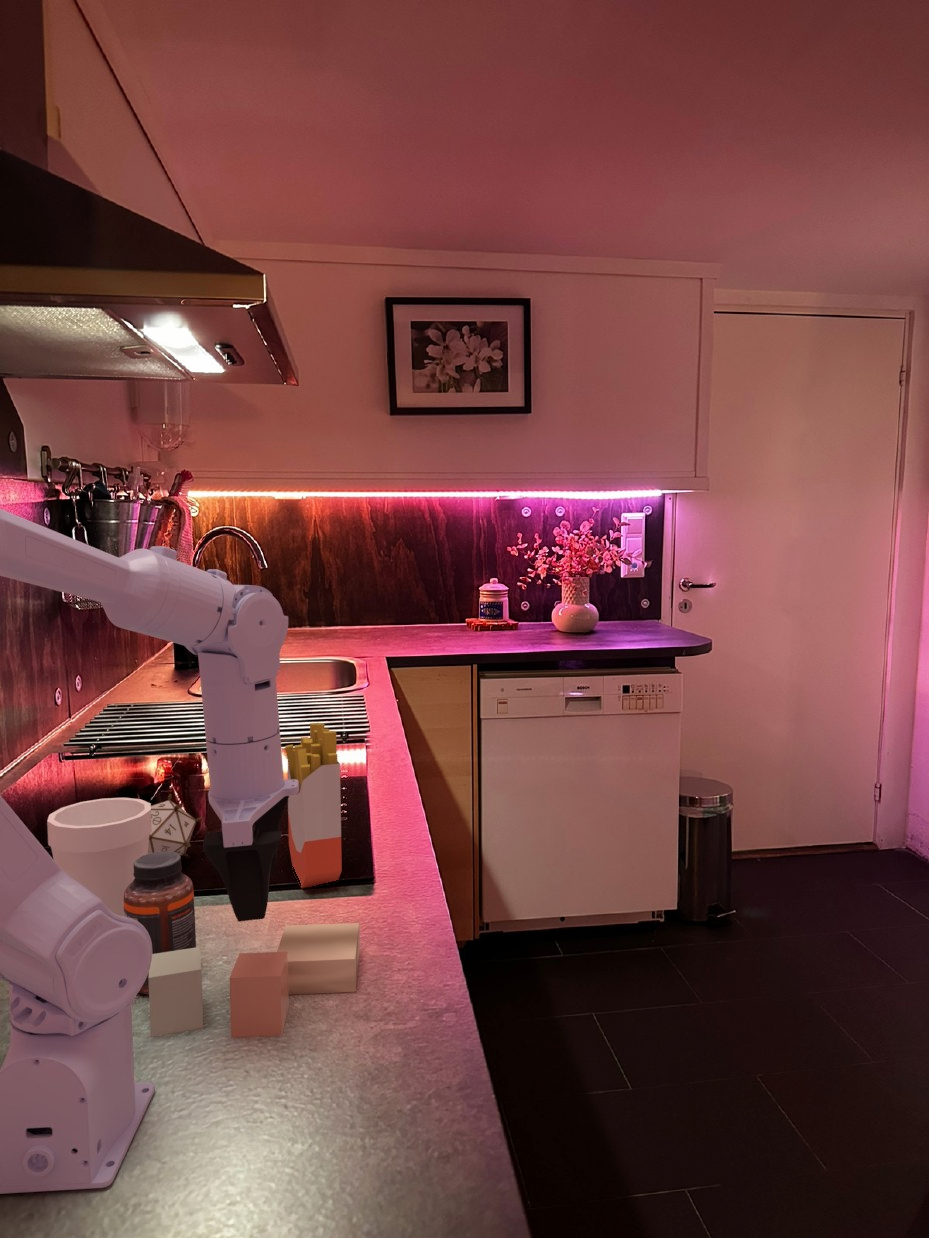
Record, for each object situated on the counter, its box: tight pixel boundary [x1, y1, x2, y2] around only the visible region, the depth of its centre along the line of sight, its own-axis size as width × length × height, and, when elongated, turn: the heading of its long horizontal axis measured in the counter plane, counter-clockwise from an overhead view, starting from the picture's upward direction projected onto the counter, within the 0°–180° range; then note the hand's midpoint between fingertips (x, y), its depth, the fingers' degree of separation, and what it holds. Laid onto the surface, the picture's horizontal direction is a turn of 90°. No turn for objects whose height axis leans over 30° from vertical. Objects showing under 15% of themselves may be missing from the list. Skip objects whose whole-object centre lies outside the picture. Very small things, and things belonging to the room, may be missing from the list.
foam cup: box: [46, 797, 152, 916], centre depth 82 cm, size 10×9×13 cm
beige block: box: [148, 946, 204, 1038], centre depth 68 cm, size 4×4×5 cm
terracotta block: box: [228, 951, 290, 1039], centre depth 67 cm, size 4×4×5 cm
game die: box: [148, 793, 204, 858], centre depth 102 cm, size 9×8×10 cm
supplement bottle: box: [124, 851, 197, 995], centre depth 74 cm, size 6×6×11 cm
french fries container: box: [284, 722, 343, 889], centre depth 97 cm, size 5×11×18 cm, turn 22°
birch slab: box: [276, 922, 361, 996], centre depth 75 cm, size 7×7×3 cm
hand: (256, 894), depth 67 cm, fingers open, 7 cm apart
